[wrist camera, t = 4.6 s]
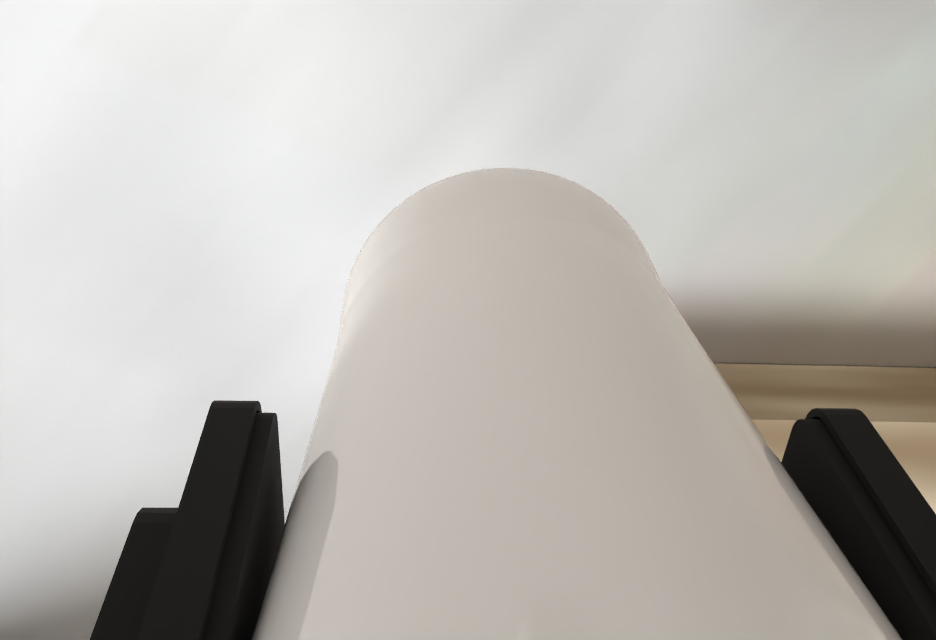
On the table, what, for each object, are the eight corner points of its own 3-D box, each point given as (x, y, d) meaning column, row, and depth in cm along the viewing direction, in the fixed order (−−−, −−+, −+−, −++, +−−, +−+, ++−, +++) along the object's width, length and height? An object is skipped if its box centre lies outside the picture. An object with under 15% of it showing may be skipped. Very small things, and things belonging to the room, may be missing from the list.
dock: (528, 359, 27) (555, 485, 22) (961, 368, 28) (1083, 491, 23) (496, 666, 34) (510, 818, 29) (846, 665, 35) (920, 812, 30)
